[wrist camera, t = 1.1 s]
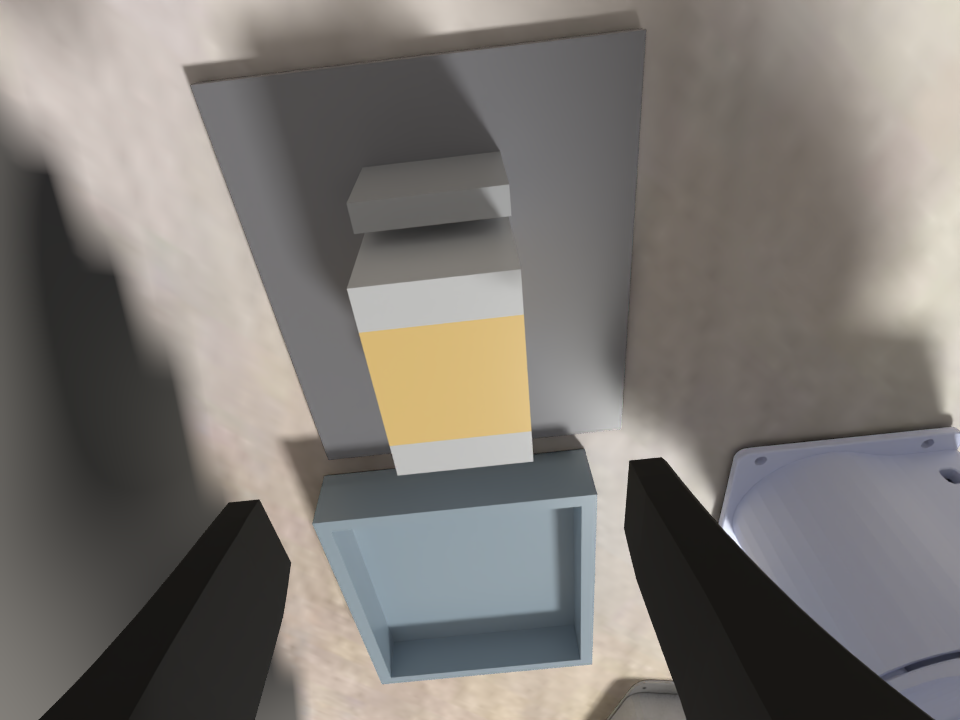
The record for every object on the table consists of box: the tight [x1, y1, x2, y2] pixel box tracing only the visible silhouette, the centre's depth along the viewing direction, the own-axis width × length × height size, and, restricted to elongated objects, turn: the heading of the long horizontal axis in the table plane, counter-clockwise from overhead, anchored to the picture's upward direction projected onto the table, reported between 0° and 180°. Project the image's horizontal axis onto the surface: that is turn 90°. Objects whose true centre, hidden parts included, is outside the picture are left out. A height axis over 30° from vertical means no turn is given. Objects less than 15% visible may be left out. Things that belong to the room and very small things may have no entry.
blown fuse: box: [347, 216, 533, 475], centre depth 16 cm, size 4×6×5 cm, turn 6°
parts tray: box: [312, 449, 597, 684], centre depth 26 cm, size 11×13×2 cm
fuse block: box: [190, 28, 646, 460], centre depth 17 cm, size 12×14×3 cm
